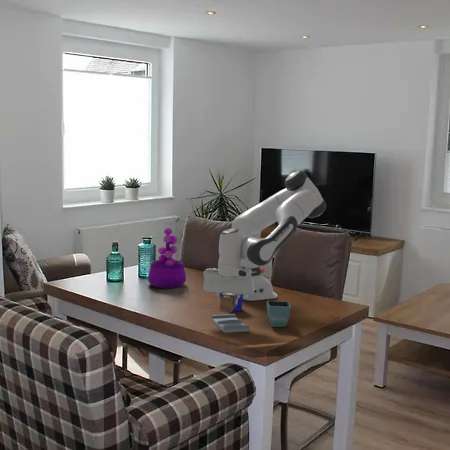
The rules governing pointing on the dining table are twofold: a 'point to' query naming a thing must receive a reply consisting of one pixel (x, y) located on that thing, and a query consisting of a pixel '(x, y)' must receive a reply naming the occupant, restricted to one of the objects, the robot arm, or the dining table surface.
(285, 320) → the flower pot
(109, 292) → the dining table surface
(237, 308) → the mug
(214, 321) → the grey ridged tray
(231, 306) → the brown block
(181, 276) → the decorative plant
